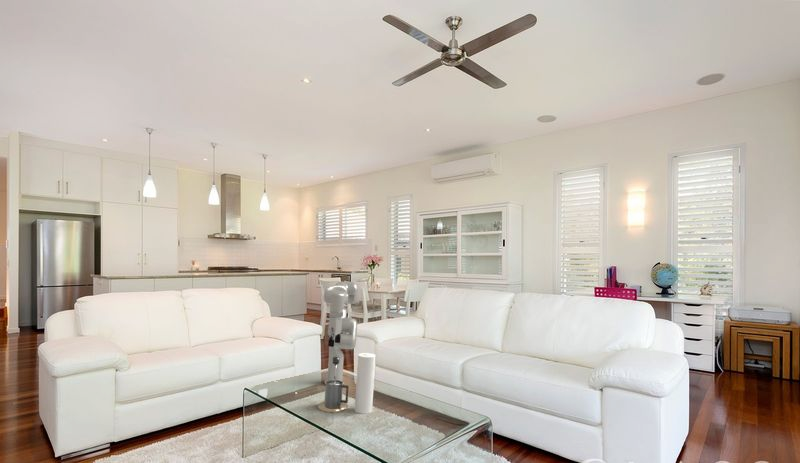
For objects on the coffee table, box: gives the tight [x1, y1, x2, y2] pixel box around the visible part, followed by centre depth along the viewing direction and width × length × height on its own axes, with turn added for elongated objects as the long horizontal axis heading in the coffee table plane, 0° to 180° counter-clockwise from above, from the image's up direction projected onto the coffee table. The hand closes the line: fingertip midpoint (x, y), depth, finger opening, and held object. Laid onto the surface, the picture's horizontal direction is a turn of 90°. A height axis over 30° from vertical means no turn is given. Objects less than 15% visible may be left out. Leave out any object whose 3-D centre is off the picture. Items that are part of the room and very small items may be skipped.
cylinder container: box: [354, 352, 377, 415], centre depth 228 cm, size 9×9×30 cm
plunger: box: [328, 357, 340, 385], centre depth 230 cm, size 7×7×15 cm
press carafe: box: [317, 380, 350, 413], centre depth 230 cm, size 16×16×13 cm
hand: (334, 344), depth 238 cm, fingers open, 9 cm apart
